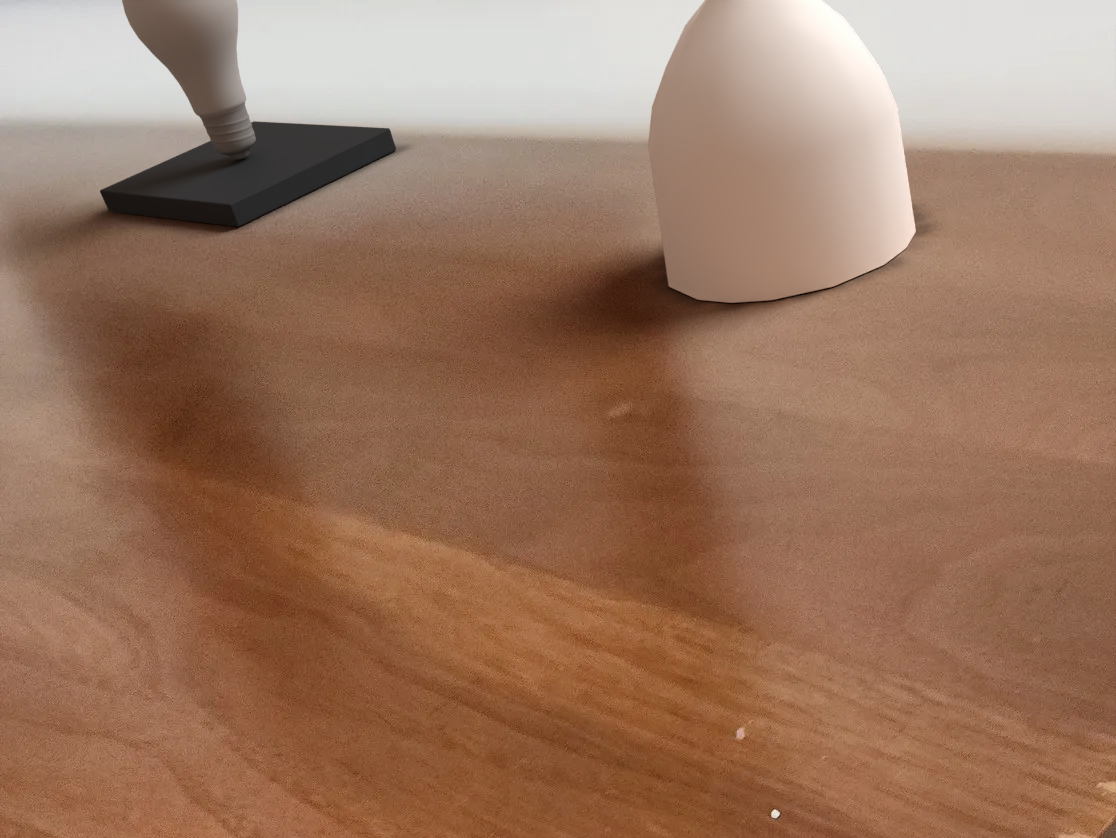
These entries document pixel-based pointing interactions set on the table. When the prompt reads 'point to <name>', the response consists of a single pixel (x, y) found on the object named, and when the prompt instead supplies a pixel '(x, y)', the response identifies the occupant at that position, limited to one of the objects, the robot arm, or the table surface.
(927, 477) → the table surface
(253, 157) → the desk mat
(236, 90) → the lightbulb
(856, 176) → the teardrop
